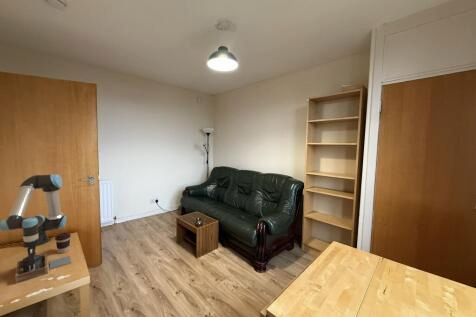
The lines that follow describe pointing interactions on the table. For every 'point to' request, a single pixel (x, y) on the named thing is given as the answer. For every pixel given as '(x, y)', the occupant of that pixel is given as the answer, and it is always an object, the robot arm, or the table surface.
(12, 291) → the table surface
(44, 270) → the shallow wooden tray
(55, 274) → the table surface
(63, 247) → the coffee cup
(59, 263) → the pad
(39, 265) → the box
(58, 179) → the robot arm
